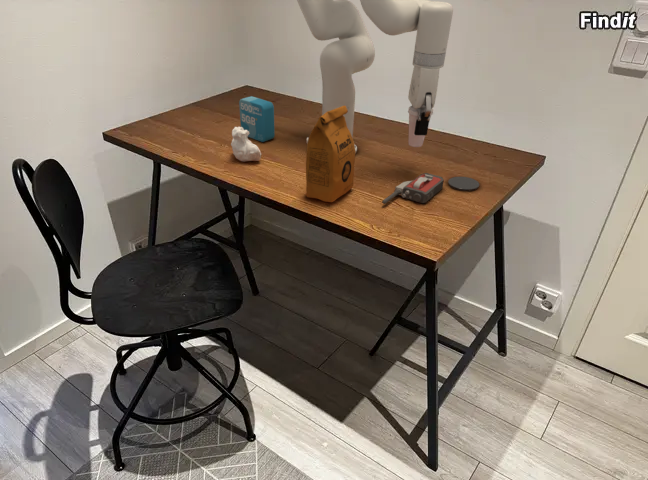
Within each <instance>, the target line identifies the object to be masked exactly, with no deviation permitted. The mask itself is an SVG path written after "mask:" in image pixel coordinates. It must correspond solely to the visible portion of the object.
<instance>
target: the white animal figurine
mask: <svg viewBox="0 0 648 480" xmlns="http://www.w3.org/2000/svg"><path fill="white" fill-rule="evenodd" d="M249 134H250V133H249V131H247V130H244V129H243V127H241V126H234V127H233V128H232V130H231V136H232V140H231V143H230V146H231V148H232V149H231V151H232V154H233V156H234V157H235V158H236V159H237V160H238V161H240V162H244V163H245V162H252V161H253V162H259V161H261V159H262V152H261V150H260V148H259V146H258V145H257V144H256V143H255V144H254V143H253V142H252V141H251V140H250V139H249V137H248V135H249Z"/></svg>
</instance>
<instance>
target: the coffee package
mask: <svg viewBox="0 0 648 480" xmlns="http://www.w3.org/2000/svg"><path fill="white" fill-rule="evenodd" d="M347 112H348V110H347V108H346V106H341V107H339V108H336V109H334V110H331V111H327V112H326V113H325V114H323V115H322V114H321V115H320V116H319V117H318V119H317V121H316V123H315V125H314V127H313V128H312V129H311V131H310V134H309V136H308V137H309V139H308V144H306V145H307V146H306V157H305V159H306V160H305V181H306V182H305V183H306V184H305V185H306V188H305V193H306V194H305V195H306V197H307V198H308V199H317V200H320V201H322V202H326V203H333V202H335V201H336V200H337V199H339V198H340V197H342V196H344V195H346V193H348V192H349V191H350V190H351V189H352V188H353V187H354V183H355V182H354V180H355V162H356V153H355V146H354V144H355V142H354V137H353V138H352V136H351V133H350V131H349V129H348V128H347V124H346V121H345V117H344V116H343V115H344V114H346V113H347Z"/></svg>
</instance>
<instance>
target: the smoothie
mask: <svg viewBox="0 0 648 480" xmlns="http://www.w3.org/2000/svg"><path fill="white" fill-rule="evenodd" d="M421 107H425V105H422V106H421ZM424 111H425V110H421V115H422V113H423V112H424ZM407 113H408V138H407V139H408V144H407V145H408V146H410V147H413V148H421V147H423V144H424V141H425V139H426V135H415V134H414V132H415V125H416V119H418V108H417V109H415V108H414V107H413V106H412V105H411V106H409V107H408V110H407ZM432 115H434V108H432V109H431V113H430V120H429V122H431V119H432V118H431V117H432Z"/></svg>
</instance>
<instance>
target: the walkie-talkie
mask: <svg viewBox="0 0 648 480" xmlns="http://www.w3.org/2000/svg"><path fill="white" fill-rule="evenodd" d="M444 181H445V179H444V178H443V177H442V176H440V175H437V174H432V173H428V172H424V173H421V174H420V175H418V176H417V177H415V178H414V179H413V180H407V181H402V182H401V183H400V184H398V185H396V186H395V187H394V192H392V193H391V194H390V195H388V196H387V197H385V198H384V199H383V200H382V201H381V203H382V204H383V205H386V204H387V203H389V202H390V201H391V200H392V199H394V198H395V197H397V196H401V197H402V198H403V199H406V200H409V201H413V202H416V203H420V204H425V203H427V202H428V201H429V200H431V199H432V198H433V197H434V196H435V195H436V194H438V193H439V192H440V191H442V189H443V187H444V183H445V182H444Z"/></svg>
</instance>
